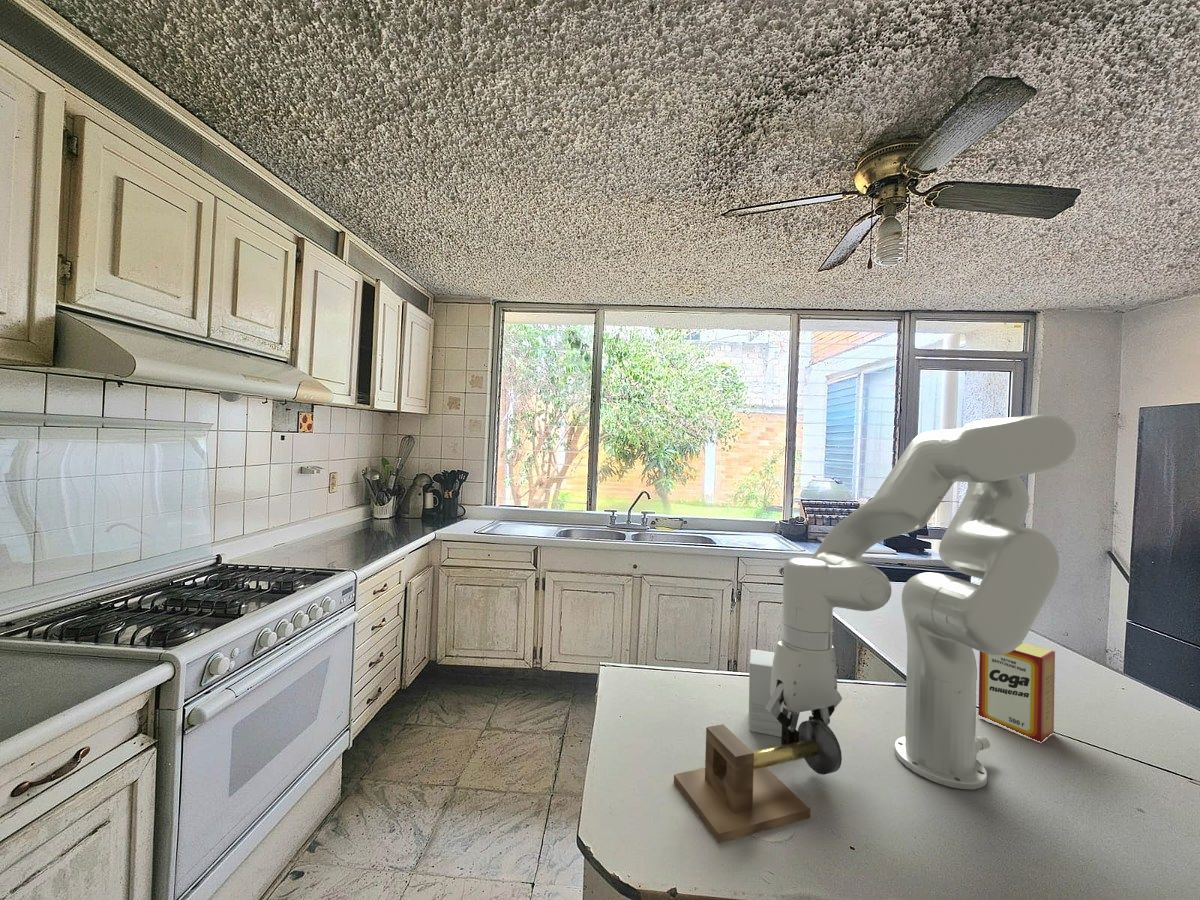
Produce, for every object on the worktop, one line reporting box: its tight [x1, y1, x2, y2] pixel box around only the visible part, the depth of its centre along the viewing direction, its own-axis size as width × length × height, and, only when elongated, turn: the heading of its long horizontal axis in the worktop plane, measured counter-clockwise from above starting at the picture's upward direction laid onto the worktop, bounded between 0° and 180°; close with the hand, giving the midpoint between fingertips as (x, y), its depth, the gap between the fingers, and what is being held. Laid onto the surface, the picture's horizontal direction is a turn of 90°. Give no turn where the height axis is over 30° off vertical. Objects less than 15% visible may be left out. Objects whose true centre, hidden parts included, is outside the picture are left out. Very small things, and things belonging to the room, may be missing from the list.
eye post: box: [673, 723, 811, 844], centre depth 69 cm, size 15×12×9 cm
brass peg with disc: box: [751, 719, 843, 775], centre depth 72 cm, size 17×7×7 cm, turn 110°
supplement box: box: [748, 648, 791, 738], centre depth 89 cm, size 7×7×13 cm
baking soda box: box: [978, 641, 1056, 742], centre depth 92 cm, size 10×6×16 cm
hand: (803, 747), depth 77 cm, fingers closed on brass peg with disc, 4 cm apart
